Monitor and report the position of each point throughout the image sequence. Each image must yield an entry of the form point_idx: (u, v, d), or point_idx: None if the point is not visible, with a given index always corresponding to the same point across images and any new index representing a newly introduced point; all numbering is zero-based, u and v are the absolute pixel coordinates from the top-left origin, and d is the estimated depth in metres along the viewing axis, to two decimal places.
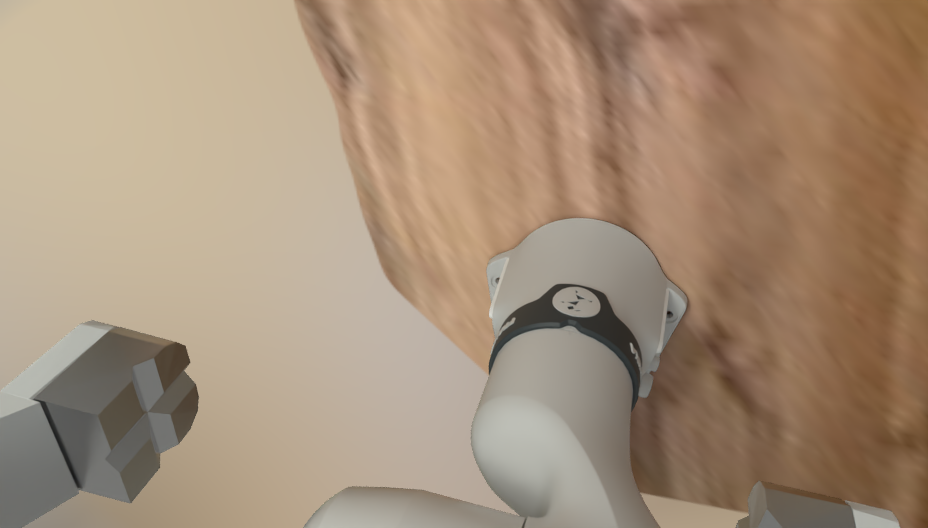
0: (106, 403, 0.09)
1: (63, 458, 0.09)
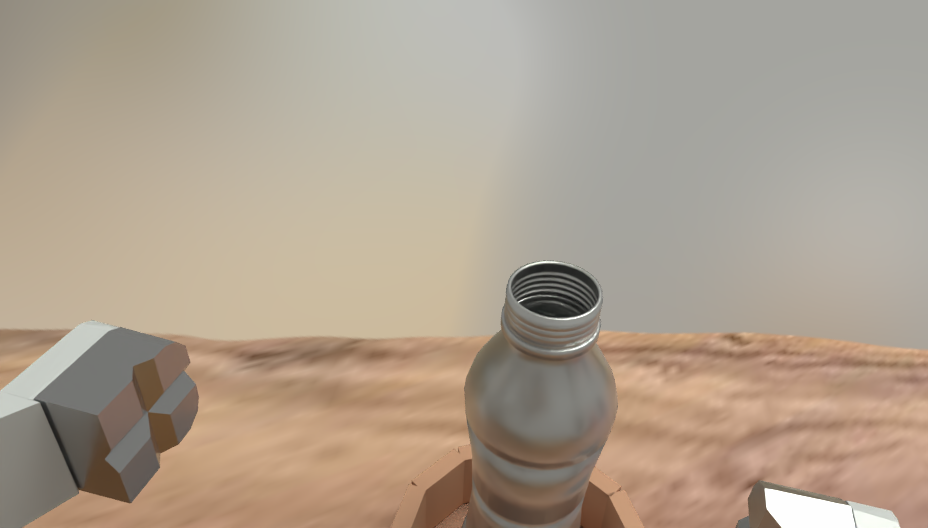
0: (106, 403, 0.09)
1: (63, 458, 0.09)
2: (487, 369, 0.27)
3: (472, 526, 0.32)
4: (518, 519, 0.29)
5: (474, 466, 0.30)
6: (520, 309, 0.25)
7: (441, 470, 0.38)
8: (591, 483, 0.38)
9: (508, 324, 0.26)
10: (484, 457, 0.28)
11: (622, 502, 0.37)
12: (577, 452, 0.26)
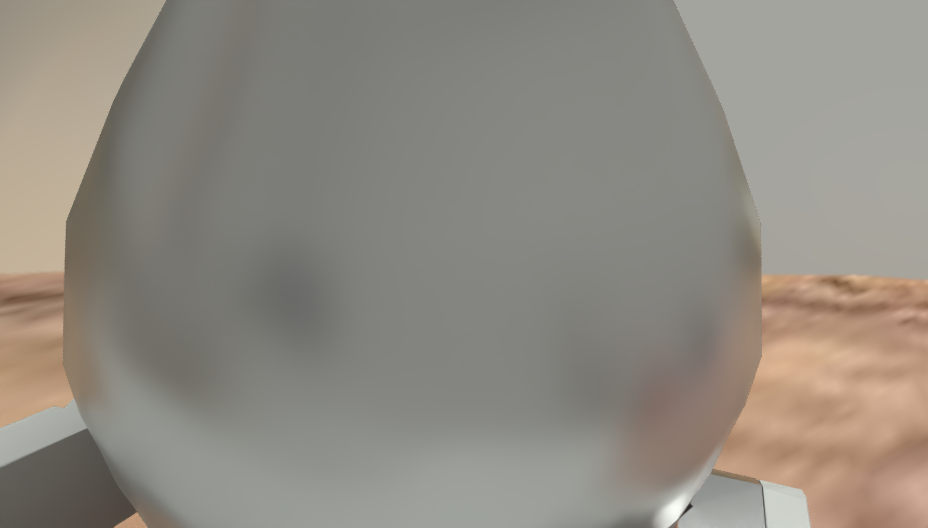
0: None
1: None
2: (118, 91, 0.05)
3: None
4: None
5: None
6: None
7: None
8: None
9: None
10: None
11: None
12: None
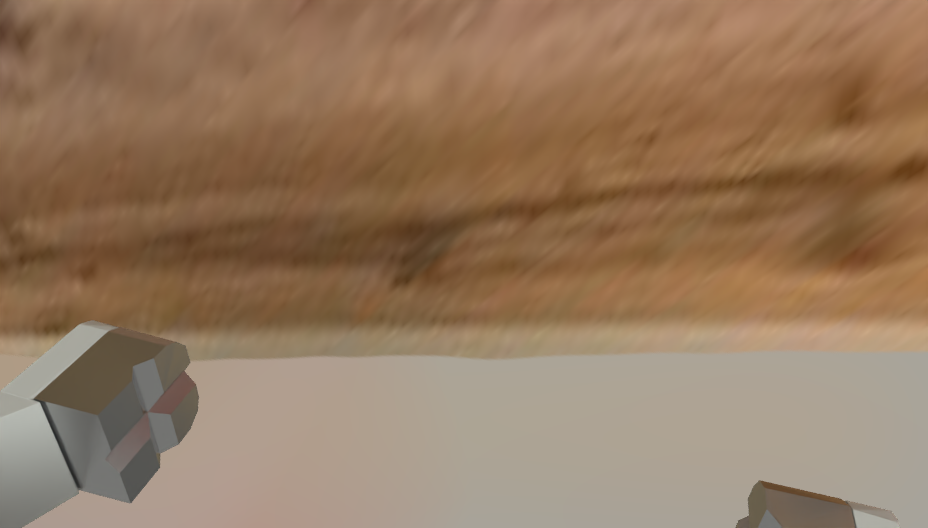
0: (106, 403, 0.09)
1: (63, 457, 0.09)
2: None
3: None
4: None
5: None
6: None
7: None
8: None
9: None
10: None
11: None
12: None
